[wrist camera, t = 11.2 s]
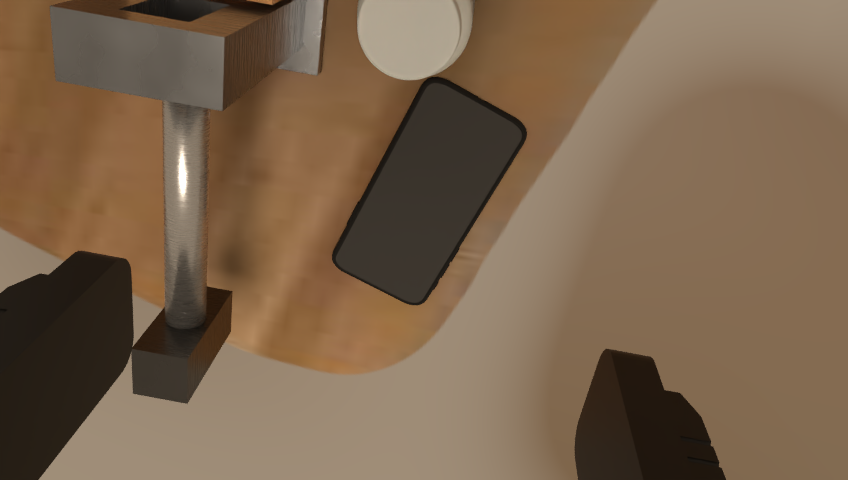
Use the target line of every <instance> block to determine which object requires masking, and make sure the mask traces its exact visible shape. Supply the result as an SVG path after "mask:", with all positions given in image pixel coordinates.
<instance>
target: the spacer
mask: <svg viewBox="0 0 848 480" xmlns="http://www.w3.org/2000/svg"><path fill="white" fill-rule="evenodd" d="M248 1H254V2H259V3H265V4H270V5H273V4H275V3H277V2H279V1H281V0H248Z"/></svg>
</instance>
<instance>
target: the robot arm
mask: <svg viewBox="0 0 848 480" xmlns="http://www.w3.org/2000/svg"><path fill="white" fill-rule="evenodd" d="M133 334H134V332H133V305H132V278H131V267H130V264H129V262H128V261H127V260H126V259H124V258H119V257H113V256H108V255H102V254H97V253H91V252H86V251H77V252H75V253H74V254H73V255H71V256H70V257H69V258H68V259H67V260H66V261H64V262H63V263H62V264H61V265H60V266H59V267H58V268H56V269H55V270H54V271H53V272H52V273H50V274H49V275H46V274H38V275H36V276H33V277H31V278H28V279H26V280H24V281H21V282H19V283H17V284H14V285H12V286H9V287H8V288H6V289H5V290H4V291H3V292H1V293H0V480H38V479H39V478H40V477H41V476H42V474H43V473H44V472H45V471H46V469H47V468H48V467H49V465H50V464H51V463H52V462H53V460H54V459H55V458H56V456H57V455H58V454H59V453H60V451H61V450H62V449H63V448H64V446H65V445H66V444H67V442H68V441H69V440H70V438H71V437H72V436H73V435H74V433H75V432H76V431H77V429H78V428H79V427H80V426H81V424H82V423H83V422H84V421H85V419H86V418H87V416H88V415H89V414H90V413H91V412H92V410H93V409H94V408H95V406H96V405H97V404H98V402H99V401H100V400H101V399H102V397H103V396H104V395H105V394H106V392H107V391H108V390H109V388H110V387H111V386H112V385H113V383H114V382H115V381H116V379H117V378H118V377H119V376H120V374H121V373H122V372H123V370H124V368H125V366H126V364H127V362H128V360H129V357H130V354H131V350H132V345H133V338H134V337H133V336H134V335H133ZM710 444H711V440H710V438H709V436H708V433H707V430H706V428H705V425H704V423H703V420H702V418H701V416H700V415H699V414H698V413H697V412H696V410H695V409H694V408H693V407H692V406H691V405H690V404H689V403H688V401H687V400H686V399H685V398H684V397H683V396H682V395H681V394H680V393H677V392H671V391H666V390H664V388H663V385H662V382H661V379H660V376H659V374H658V370H657V368H656V365H655V362H654V360H653V358H651V357H649V356H643V355H638V354H633V353H627V352H622V351H616V350H610V349H605V350H604V351H603V353H602V354H601V356H600V359H599V362H598V365H597V368H596V370H595V374H594V376H593V379H592V382H591V385H590V388H589V391H588V394H587V397H586V400H585V403H584V406H583V409H582V412H581V415H580V418H579V421H578V425H577V430H576V437H575V461H576V468H577V475H578V480H726V478H725V476H724V473H723V470H722V468H720V467H719V460H718V458H717V456H716V453H715V450H714V448H713V447H712V446H711V445H710Z"/></svg>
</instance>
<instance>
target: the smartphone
mask: <svg viewBox="0 0 848 480" xmlns="http://www.w3.org/2000/svg"><path fill="white" fill-rule="evenodd" d="M526 136H527V131H526V128H525V126H524V125H523V124H522V123H521V121H519V120H518V119H517V118H515V117H513V116H511V115H510V114H508V113H506V112H504V111H503V110H501V109H499V108H497V107H495V106H494V105H492V104H490V103H488V102H486V101H483V100H481V99H479V98H478V96H476V95H474V94H472V93H470V92H469V91H467V90H465V89H463V88H461V87H460V86H458V85H456V84H454V83H452V82H451V81H449V80H447V79H444V78H441V77H431V78H428V79H427V80H426V81H424V82H423V84H422V85H421V87H420V89H419V91H418V93H417V94H416V96H415V98H414V100H413V102H412V104H411V106H410V108H409V110H408V111H407V113H406V115H405V117H404V119H403V121H402V123H401V125H400V126H399V128H398V130H397V132H396V134H395V136H394V138H393V140H392V141H391V143H390V145H389V147H388V149H387V151H386V153H385V155H384V157H383V158H382V160H381V162H380V164H379V166H378V168H377V170H376V172H375V173H374V175H373V177H372V179H371V181H370V183H369V185H368V187H367V189H366V190H365V192H364V194H363V196H362V198H361V200H360V202H358V203H357V205H356V207H355V209H354V211H353V213H352V215H351V217H350V219H349V220H348V222H347V226H346V228H345V230H344V232H343V234H342V236H341V238H340V239H339V241H338V243H337V245H336V247H335V249H334V251H333V254H332V260H333V263H334V264H335V266H336V267H337V268H338V269H340V270H341V271H343V272H345V273H347V274H349V275H351V276H353V277H355V278H357V279H359V280H361V281H362V282H364V283H366V284H368V285H370V286H372V287H374V288H376V289H378V290H380V291H382V292H384V293H386V294H388V295H390V296H392V297H394V298H396V299H398V300H400V301H402V302H404V303H406V304H410V305H420V304H422V303H424V302H425V301H426V300H427V298H428V297H429V295H430V294H431V292H432V290H433V289H435V287H436V286H437V284H438V281H439V279H440V278H442V276H443V274H444V273H445V271H446V270H447V268H448V266H449V263H450V261H451V262H452V260H453V258H454V257H455V255H456V254H457V252H458V250H459V247H460V245H461V244H462V242H463V241H464V239H465V237H466V236H467V234H468V233H469V231H470V229H471V228H472V226H473V224H474V223H475V221H476V220H477V218H478V216H479V215H480V213H481V212H482V210H483V208H484V207H485V205H486V204H487V202H488V200H489V199H490V197H491V195H492V194H493V192H494V191H495V189H496V187H497V186H498V184H499V183H500V181H501V179H502V178H503V176H504V174H505V173H506V171H507V170H508V168H509V166H510V165H511V163H512V162H513V160H514V158H515V157H516V155H517V154H518V152H519V150H520V149H521V147H522V145H523V144H524V142H525V140H526Z"/></svg>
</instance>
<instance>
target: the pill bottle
mask: <svg viewBox="0 0 848 480" xmlns="http://www.w3.org/2000/svg"><path fill="white" fill-rule="evenodd" d="M474 5H475V0H359V1H358V8H357V31H358V38H359V41H360V45H361V47H362V49H363V51H364V53H365V55H366V57H367V58H368V59H369V61H370V62H371V63H372V64H373V65H374V66H375V67H376V68H377V69H379V70H380V71H381V72H383V73H385V74H386V75H388V76H391V77H394V78H397V79H401V80H419V79H423V78H426V77H429V76H432V75H435V74H438V73H440V72H442V71H443V70H445V69H446V68H448V67H449V66H450V65H452V64H453V63H454V62H455V61H456V60H457V59H458V58H459V56H460V55H461V54H462V52H463V51H464V49H465V47H466V45H467V42H468V39H469V36H470V34H471V29H472V22H473V13H474Z"/></svg>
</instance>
